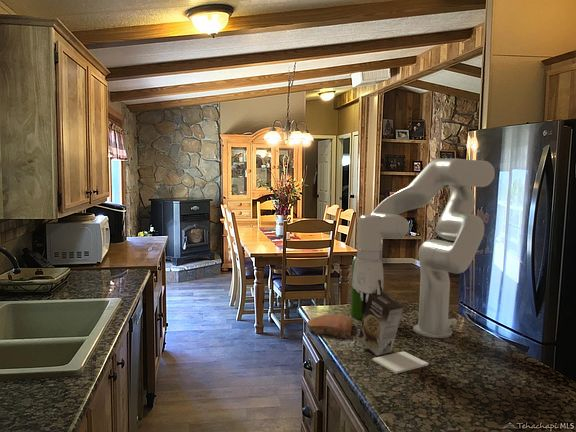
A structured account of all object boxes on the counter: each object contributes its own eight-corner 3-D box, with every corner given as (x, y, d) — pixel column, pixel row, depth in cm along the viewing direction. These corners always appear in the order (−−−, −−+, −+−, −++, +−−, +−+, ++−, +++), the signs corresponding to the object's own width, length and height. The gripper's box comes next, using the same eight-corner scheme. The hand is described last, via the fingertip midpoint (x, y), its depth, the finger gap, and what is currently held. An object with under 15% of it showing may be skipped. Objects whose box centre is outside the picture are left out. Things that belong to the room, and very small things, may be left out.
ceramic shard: (313, 307, 174) (354, 316, 172) (309, 324, 174) (351, 334, 172) (307, 313, 160) (352, 324, 157) (303, 333, 160) (348, 343, 157)
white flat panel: (403, 353, 146) (403, 351, 146) (428, 365, 137) (428, 363, 137) (372, 360, 140) (372, 358, 140) (396, 373, 131) (396, 371, 131)
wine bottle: (368, 321, 175) (372, 231, 172) (346, 316, 180) (349, 229, 177) (378, 315, 183) (382, 229, 179) (357, 311, 188) (360, 227, 184)
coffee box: (356, 339, 150) (367, 293, 145) (372, 335, 153) (383, 290, 148) (376, 356, 143) (389, 308, 138) (392, 352, 146) (405, 305, 141)
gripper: (345, 252, 153) (343, 308, 155) (375, 260, 140) (373, 322, 142) (364, 250, 157) (361, 306, 159) (395, 258, 144) (392, 318, 146)
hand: (367, 313), depth 150 cm, fingers closed
